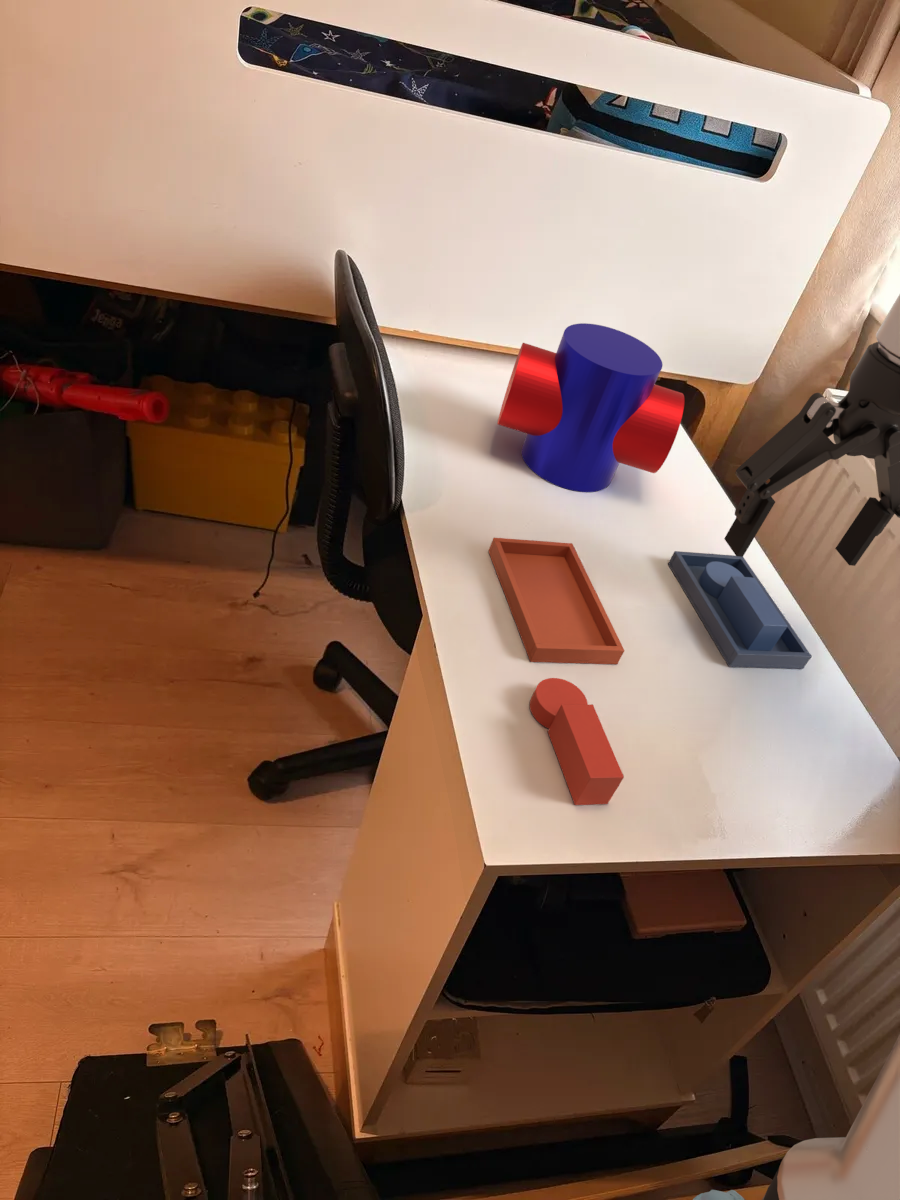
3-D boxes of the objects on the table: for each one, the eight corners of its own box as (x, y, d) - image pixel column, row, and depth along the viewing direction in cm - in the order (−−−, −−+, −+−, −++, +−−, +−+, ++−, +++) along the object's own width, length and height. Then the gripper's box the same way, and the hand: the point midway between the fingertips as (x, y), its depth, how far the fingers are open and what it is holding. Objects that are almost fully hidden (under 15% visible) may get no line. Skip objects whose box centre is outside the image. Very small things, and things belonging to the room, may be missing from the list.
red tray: (617, 664, 87) (624, 650, 85) (530, 662, 84) (536, 647, 82) (566, 556, 98) (572, 543, 97) (488, 551, 95) (493, 537, 94)
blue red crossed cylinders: (485, 463, 108) (526, 342, 98) (496, 418, 118) (534, 303, 108) (642, 512, 109) (698, 397, 99) (640, 463, 119) (691, 353, 109)
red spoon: (617, 804, 73) (634, 777, 71) (564, 805, 72) (580, 778, 70) (571, 691, 82) (584, 664, 80) (523, 690, 80) (535, 662, 78)
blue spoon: (778, 651, 94) (795, 626, 92) (740, 649, 93) (756, 624, 91) (728, 574, 103) (742, 550, 101) (692, 571, 102) (706, 547, 99)
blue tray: (803, 669, 94) (812, 656, 93) (729, 667, 91) (737, 654, 90) (735, 568, 105) (742, 555, 104) (667, 563, 102) (674, 550, 101)
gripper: (993, 358, 83) (868, 538, 96) (772, 316, 75) (668, 519, 88) (1049, 399, 78) (909, 584, 91) (817, 359, 69) (699, 568, 83)
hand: (790, 552), depth 89 cm, fingers open, 13 cm apart
